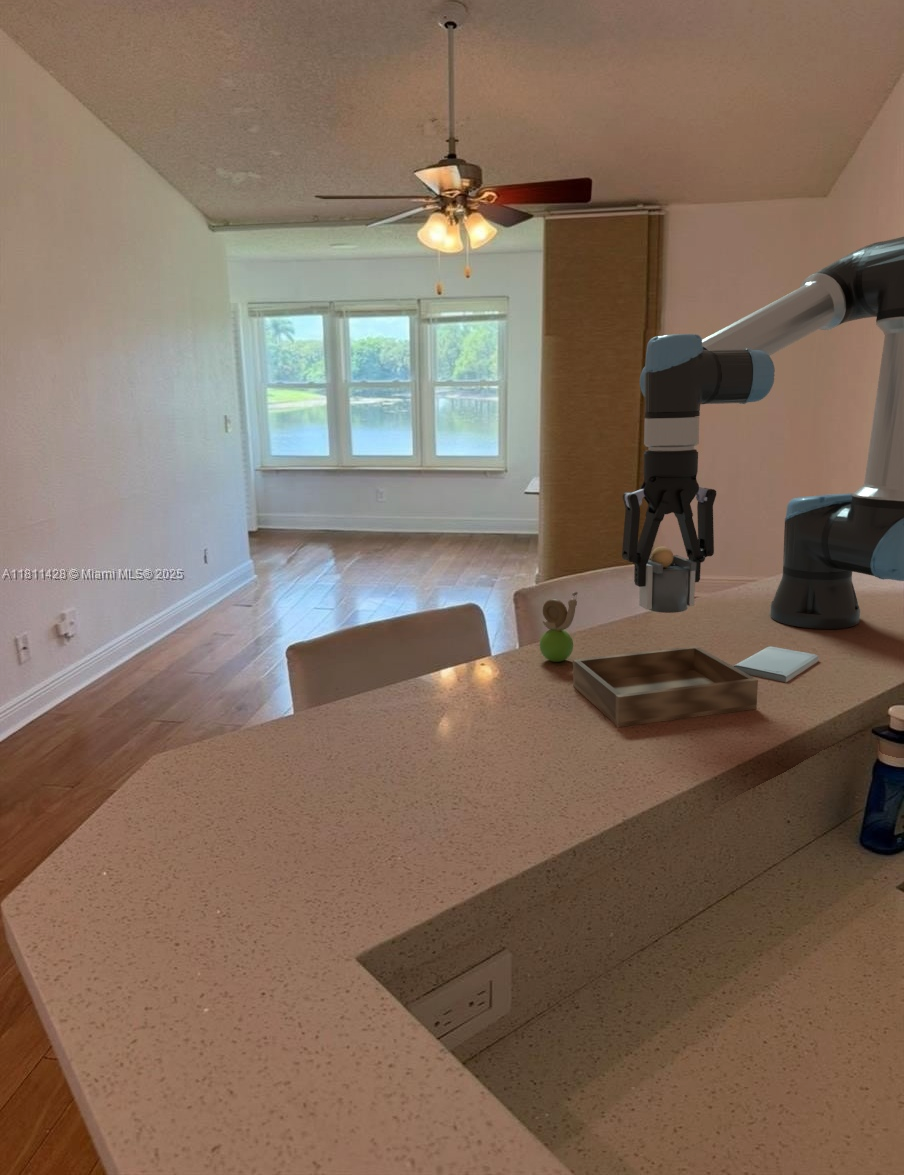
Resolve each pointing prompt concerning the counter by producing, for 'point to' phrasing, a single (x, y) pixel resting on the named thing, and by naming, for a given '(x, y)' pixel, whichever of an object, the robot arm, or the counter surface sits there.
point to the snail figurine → (557, 629)
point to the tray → (663, 685)
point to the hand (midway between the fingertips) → (666, 605)
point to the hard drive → (777, 663)
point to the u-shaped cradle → (671, 585)
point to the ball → (662, 556)
